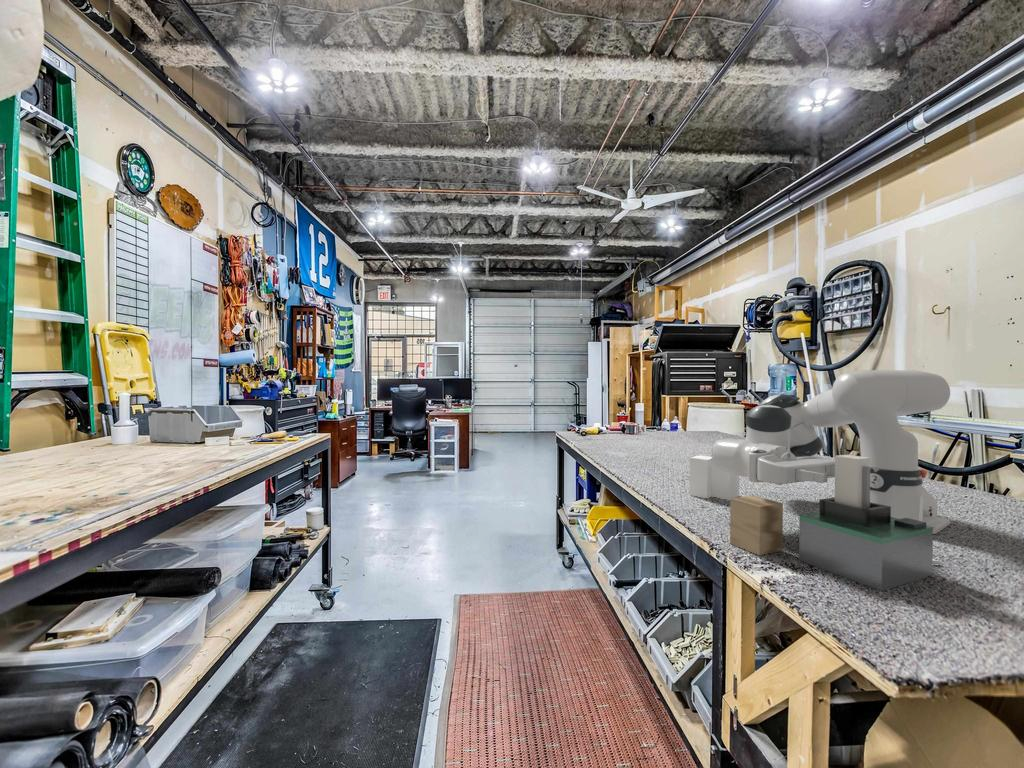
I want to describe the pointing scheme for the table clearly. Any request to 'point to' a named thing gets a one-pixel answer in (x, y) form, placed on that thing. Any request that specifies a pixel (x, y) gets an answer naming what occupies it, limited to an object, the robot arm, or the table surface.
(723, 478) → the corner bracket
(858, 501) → the keyed plug
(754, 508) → the parts stand
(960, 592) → the table surface
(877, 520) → the green-topped socket block
